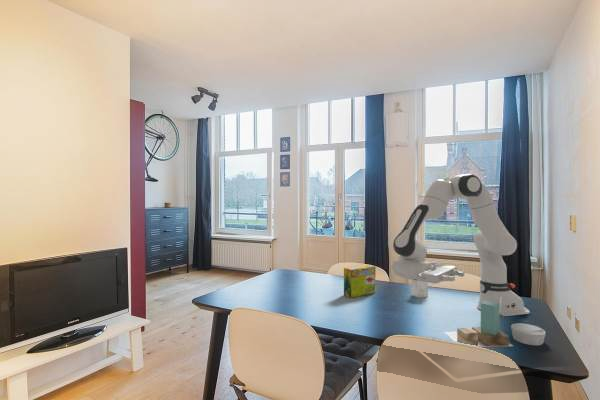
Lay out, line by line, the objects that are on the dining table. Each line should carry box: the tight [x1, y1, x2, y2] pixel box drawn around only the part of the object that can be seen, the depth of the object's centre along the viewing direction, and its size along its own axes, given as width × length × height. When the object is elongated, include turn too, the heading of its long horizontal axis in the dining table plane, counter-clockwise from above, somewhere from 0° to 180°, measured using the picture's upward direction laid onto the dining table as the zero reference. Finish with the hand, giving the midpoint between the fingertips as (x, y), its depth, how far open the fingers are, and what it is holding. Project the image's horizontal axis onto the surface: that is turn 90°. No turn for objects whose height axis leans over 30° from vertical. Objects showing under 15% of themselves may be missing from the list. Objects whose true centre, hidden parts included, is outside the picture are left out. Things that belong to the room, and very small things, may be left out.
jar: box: [411, 279, 429, 299], centre depth 191 cm, size 9×8×12 cm
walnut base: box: [471, 326, 510, 347], centre depth 131 cm, size 9×9×4 cm
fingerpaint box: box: [343, 264, 377, 298], centre depth 195 cm, size 19×7×16 cm, turn 122°
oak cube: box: [456, 326, 478, 346], centre depth 128 cm, size 5×5×5 cm
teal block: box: [480, 300, 501, 335], centre depth 131 cm, size 5×5×11 cm
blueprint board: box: [443, 331, 514, 348], centre depth 133 cm, size 20×14×1 cm
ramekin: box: [510, 322, 546, 346], centre depth 131 cm, size 11×11×5 cm
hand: (459, 276), depth 139 cm, fingers open, 8 cm apart
